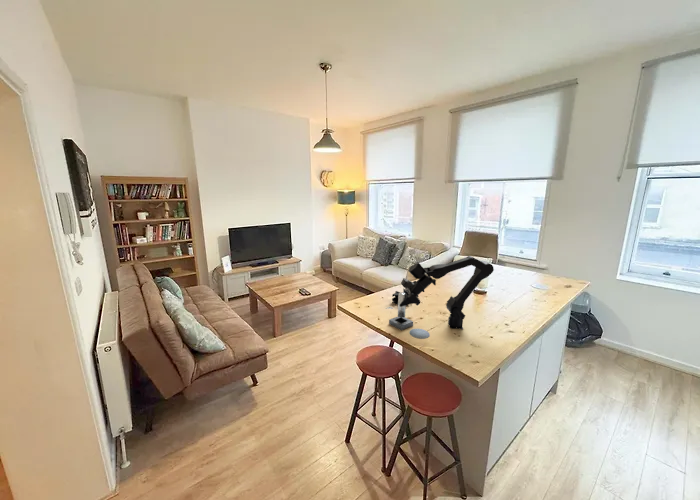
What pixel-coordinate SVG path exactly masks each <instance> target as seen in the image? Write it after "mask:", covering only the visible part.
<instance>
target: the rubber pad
mask: <svg viewBox="0 0 700 500" xmlns="http://www.w3.org/2000/svg"><path fill="white" fill-rule="evenodd" d="M409 335H410V336H411V337H413V338H415V339H421V340H422V339H423V340H424V339H428V338H430V336H431V334H430V332H429V331H428V330H425V329H423V328H412V329H410V330H409Z"/></svg>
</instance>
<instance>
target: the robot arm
mask: <svg viewBox="0 0 700 500" xmlns="http://www.w3.org/2000/svg"><path fill="white" fill-rule="evenodd" d="M470 266H473V267H474V270H473V275H472V276H471V277H470V278H469V279H468V281H467V282H466V283H465V284H464V286H463V287H462V288H461V290H460V291H459V292H458V294H457V295H456V296H452V295H451V296H450V297H449V299H448V300H447V301H446V304H445V305H446V306H445V308H446V309H447V310H448V311H449V316H448V319H447V324H448V326H449V328H450V329H456V330H464V327H463V324H464V320H465V318H466V315H465V314H464V312H463V308H464V307H465V306H464V305H465V302H466V300H467V299H468V298H469V297H470V295H471V294H473V292H474V290H476V288H477V287H478V286H479V284H480V283H481V282H482V281H483V280H484V279H486V278H488V277H489V276H490V275H492V273H493V272H494V270H495V269H494V265H492V263H489V262H487V261H486V260H479V259H477V258H475V257H474V256H471V255H468V256H466V257H464V258H460V259H457V260H455V261H451V262H447V263H444V264H443V263H442V264H441V263H440V264H434V265H431V266H428V267H423V266H422V265H421V263H419V261H417V262H416V263H414V264H412V265H410V267H409V268H408V269H407V270H408V273H410V275H412V276H413V278H415V279H416V280H417V279H418V280H417V281H416V280H414V281H411V280H410V279H407V278H406V277H405V278H402V280H401V283H400V284H401V286H402V287H403V289H402V290H403V291H402V292H403V293H406V298H405V299H404V300H403V301H402V302H401V304H400V307H402V306H405V305H406V306H409V305H413V304H414V305H416V306H419V305H420V304H421V300H420V298H419V297H420V296H419V295H420V294H421V293H425V290H426V289H427V288H428V287H429V286H430V285H431V284H433V285H434V286H436V285H437V280H438V279H439V280H440V279H441V278H443V277H445V276H446V275H447V274H449V273H451V272H454V271H458V270H460V269H464V268H467V267H470Z"/></svg>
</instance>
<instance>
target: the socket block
mask: <svg viewBox="0 0 700 500" xmlns="http://www.w3.org/2000/svg"><path fill="white" fill-rule="evenodd" d="M388 324H389V325H390V326H392V327H394V328H396V329H397V330H399V331H403V330H406V329H408V328H411V327H413V326H414V321H413V320H411V319H409V318H407V317H406V316H405V317H403V318H401V317H398V316H395V317H393V318H390V319H388Z"/></svg>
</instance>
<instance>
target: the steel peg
mask: <svg viewBox="0 0 700 500" xmlns="http://www.w3.org/2000/svg"><path fill="white" fill-rule="evenodd" d="M399 292H400V293H399V295H398V305H397V317H401V318H403V317H405V318H406V309H407V308H406V306H407V305H405V306H402V307H400V304H401V302H402V301H403V300H404V299H405V298H406V293H403V291H402V292H401V291H399Z"/></svg>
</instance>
